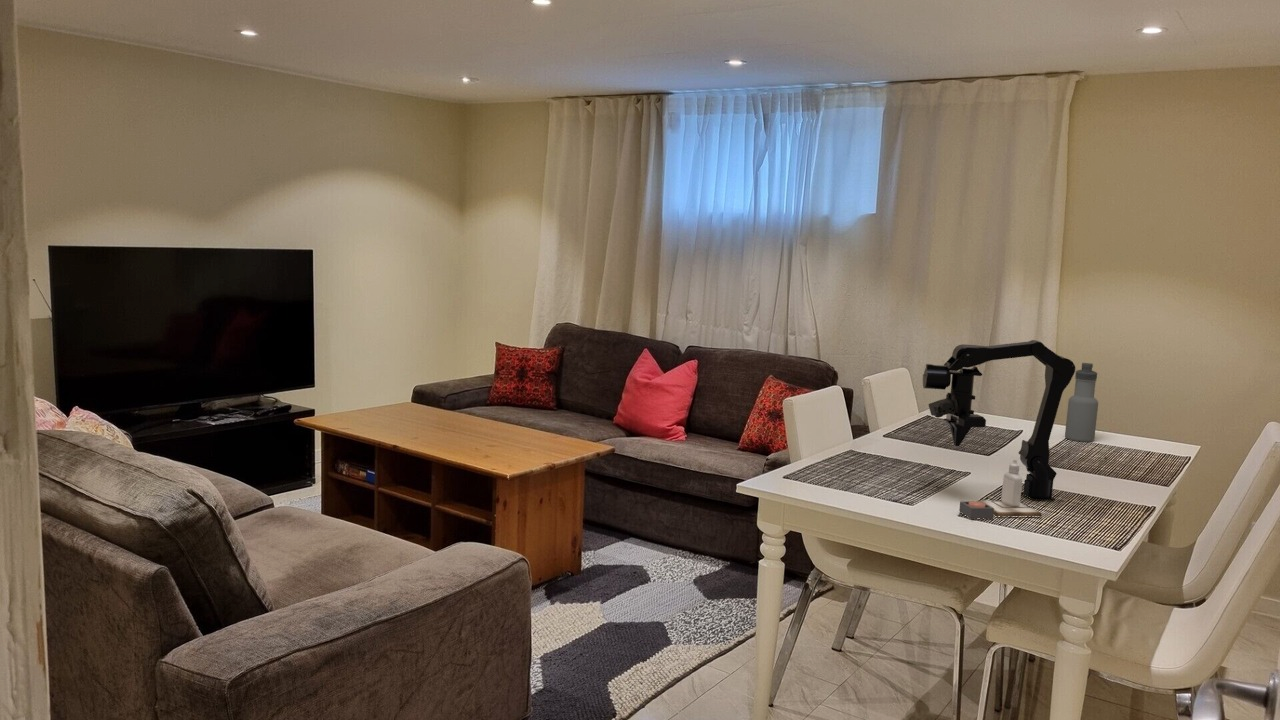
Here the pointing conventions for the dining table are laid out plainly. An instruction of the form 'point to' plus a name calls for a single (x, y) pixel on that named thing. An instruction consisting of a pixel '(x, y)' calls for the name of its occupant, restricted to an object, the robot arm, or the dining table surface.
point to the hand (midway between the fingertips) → (956, 445)
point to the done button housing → (976, 511)
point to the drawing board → (1012, 509)
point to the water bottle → (1082, 406)
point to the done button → (976, 504)
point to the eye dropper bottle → (1012, 486)
